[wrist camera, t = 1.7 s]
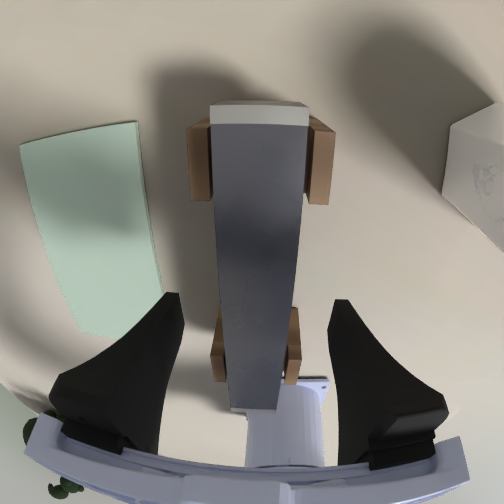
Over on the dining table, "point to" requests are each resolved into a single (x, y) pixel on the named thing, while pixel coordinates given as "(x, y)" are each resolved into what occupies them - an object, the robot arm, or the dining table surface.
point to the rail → (257, 238)
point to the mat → (95, 224)
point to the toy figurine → (66, 484)
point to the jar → (478, 171)
